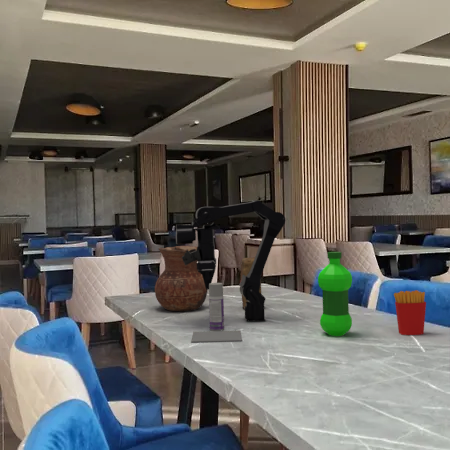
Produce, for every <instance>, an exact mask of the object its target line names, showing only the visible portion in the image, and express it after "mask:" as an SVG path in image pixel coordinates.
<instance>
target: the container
mask: <svg viewBox="0 0 450 450" xmlns="http://www.w3.org/2000/svg"><path fill="white" fill-rule="evenodd" d="M208 302H209V303H208V306H209V307H208V310H209V311H208V313H209V314H208V315H209V331H221V330H222V331H225V313H224V312H225V311H224V308H225V307H224V304H225V303H224V284H223V282H211V283H210V284H209V290H208Z"/></svg>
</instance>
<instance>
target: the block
mask: <svg viewBox="0 0 450 450" xmlns="http://www.w3.org/2000/svg"><path fill="white" fill-rule="evenodd" d="M254 259H255V256H254V257H243V258H242V260H241V266H240V281H241V280H242V276H243V275H245V276H247V275H248V273H249V272H250V270H251V267H252V264H253V262H254ZM259 292H260V293H261V294H262V283H261V284H260V290H259ZM241 302H242V308H243V309H244V310H245V308H244V307H245V306H246V302H248V301H246V298H245V297H244V296H243V295H242V294H241Z"/></svg>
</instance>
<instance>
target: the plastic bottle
mask: <svg viewBox="0 0 450 450" xmlns="http://www.w3.org/2000/svg"><path fill="white" fill-rule="evenodd" d="M327 259H329V260H328V261H329V263H328V264H327V265H326V266H325V267H324V268H323V269H322V270H320V272H319V274H318V277H317V284H318V288H320V289H321V290H322V315H321V317H320V320H319V325H320V327H321V329H322V330H323V331H324V332H325V333H326V334H327V335H328V336H331V337H332V336H333V337H341V336H345V335H346V334H347V333H348V332H349V331H350V330H351V328H352V325H353V319H352V316H351V314H350V312H349V309H350V308H349V290H350V288H351V287H352V283H353V275H352V272H351V271H349V270H348V269H347V268H346V267H345V266H344V265H343V264H341V259H342V251H328V252H327Z"/></svg>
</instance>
